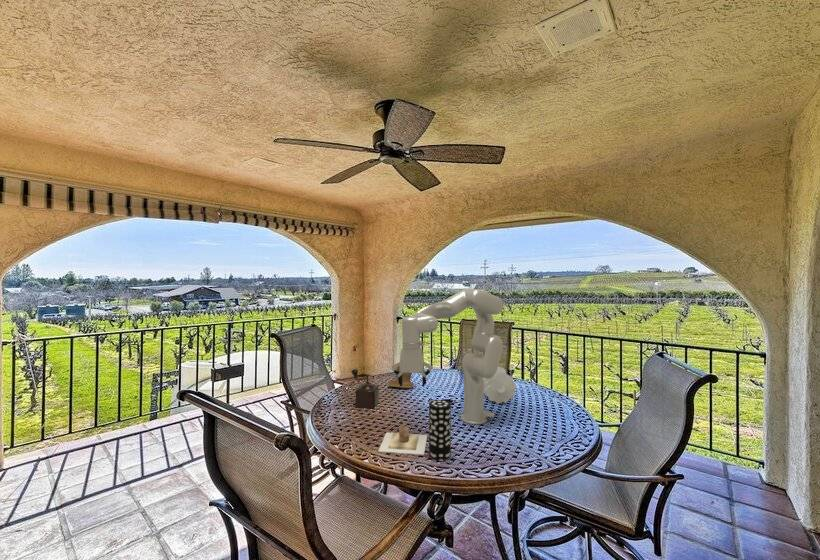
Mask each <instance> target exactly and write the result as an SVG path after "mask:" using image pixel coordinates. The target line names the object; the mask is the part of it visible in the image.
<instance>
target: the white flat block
mask: <svg viewBox="0 0 820 560" xmlns="http://www.w3.org/2000/svg"><path fill="white" fill-rule="evenodd" d="M393 433H394V432H386V433H385V434H384V437H383V439H382V441H381V444H380V445H379V448H378V450H377V451H378V453H387V454H401V455H411V456H413V455H416V456H425V452H426V445H427V438H428V434H418V433H411V434H412V435H419V438H418V443H417V447H416V450H402V449H388V446H389V443H390V440H391V438H392V435H393ZM395 433H396V434H399V432H395Z"/></svg>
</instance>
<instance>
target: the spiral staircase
mask: <svg viewBox="0 0 820 560" xmlns="http://www.w3.org/2000/svg"><path fill="white" fill-rule="evenodd" d="M483 380H484V395H485V396H487V398H488V401H492V402H495V403H496V404H497V405H498V404H502V403H504V404H506V403H508V401H510V400H511V399H512V400H513V399H514V397H515V396H516V388H517V385H516V383H515V382H514V378H513V377H512V376H511V375H509V374H508V373H507V370H506V369H505V368H503V367H501V366H500V365H498V368H497V371H496V373H495V375H494V376H493V377H492V378H489V379H486V378H483Z"/></svg>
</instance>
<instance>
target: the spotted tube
mask: <svg viewBox="0 0 820 560" xmlns="http://www.w3.org/2000/svg"><path fill="white" fill-rule="evenodd" d="M451 410H452V404H451V402H450V401H448V400H445V399H433V400H430V401H429V402H428V456H429V458H430V459H432V460H434V461H436V460H437V461H438V462H443V461H447V460H449V459H450V458H451V451H452V448H451V443H452V442H451V441H452V439H451V435H452V433H451V426H452V425H451V422H452V421H451V420H452V419H451V418H452V417H451V415H452V414H451V413H452V412H451Z"/></svg>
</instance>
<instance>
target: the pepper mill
mask: <svg viewBox="0 0 820 560" xmlns="http://www.w3.org/2000/svg"><path fill="white" fill-rule="evenodd" d="M358 373H359V370H358V368H353V369H352V370H351V375H352V377H353V378H354V380H355V381H365V380H366V383H365V384H363V383H362V384H360V385H359V386H358V387H357V389H356V390H355V409H361V408H366V409H365V410H374V409H376V408H377V406H378V405H377V404H379V401H380V399H379V395H380V394H379V393H380V392H379V391H380V390H379V386H380V385H378V384H377V385H375V384H373V383H371V382H370V381H369V378H370V377H369V374H366V375H365V376H366V377H362V378H358V377H359V375H358ZM375 407H376V408H375Z"/></svg>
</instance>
